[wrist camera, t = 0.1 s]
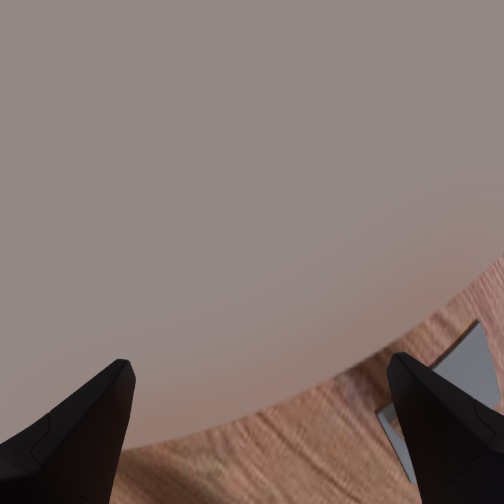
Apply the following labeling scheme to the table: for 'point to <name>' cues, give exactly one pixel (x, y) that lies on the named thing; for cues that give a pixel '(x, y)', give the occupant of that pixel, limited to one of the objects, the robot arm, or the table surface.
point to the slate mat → (461, 375)
